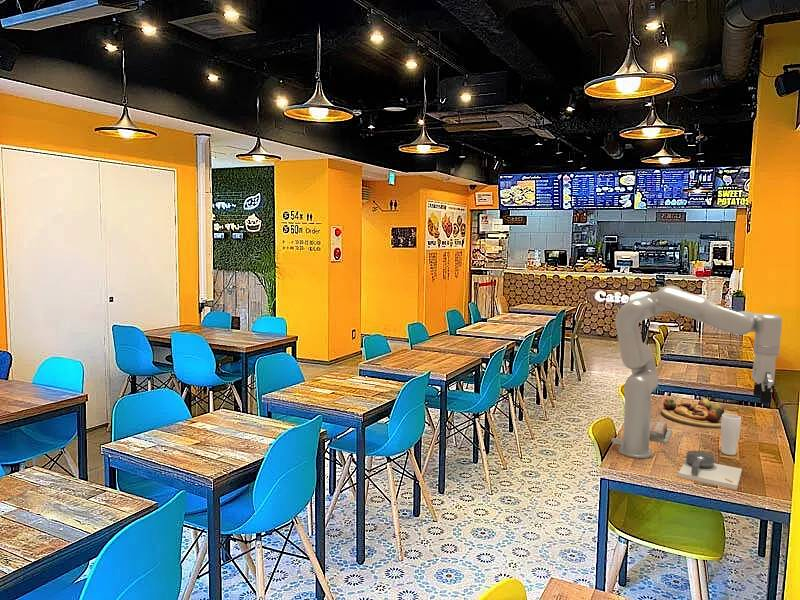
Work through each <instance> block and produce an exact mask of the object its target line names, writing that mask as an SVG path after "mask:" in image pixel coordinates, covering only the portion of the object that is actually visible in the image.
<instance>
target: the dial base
mask: <svg viewBox="0 0 800 600" xmlns="http://www.w3.org/2000/svg"><path fill="white" fill-rule="evenodd" d="M691 471H692V466H690V465H688V464H687V463H686V459H684V460H683V464H682V466H681V468H680V470H679V472H678V474H677V475H678V476H677V477H678V478H681V479H686V480H691V481H695V482H700V483H704V484H709V485H714V486H718V487H724V488H728V489H733V490H738V487H739V483H740V479H741V476H742V471H743V469H742V468H740V467H736V466H735V467H734V466H730V465H725V464H719V463H715V462H714V467H713V468H711V469H702V468H701V469H700V471H699V473H698V475H697V474H692V473H691Z"/></svg>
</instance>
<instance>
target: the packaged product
mask: <svg viewBox="0 0 800 600" xmlns="http://www.w3.org/2000/svg"><path fill="white" fill-rule="evenodd" d="M672 433H673V429H670V428H668V424H667V423H666V422H664V421H652V422H650V437H649V442H654V441H655V443H660V442H661V443H660V444H666V443H667V444H668V443H669V441H670V439H669V438H671V436H672ZM668 440H669V441H668Z"/></svg>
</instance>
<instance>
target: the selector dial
mask: <svg viewBox="0 0 800 600" xmlns="http://www.w3.org/2000/svg"><path fill="white" fill-rule="evenodd" d="M685 457H686V459H685V460H686V463H687V464H688V465H690V466H692V471H691V473H692V474H697V475H698V473H699V471H700V469H701V468H702V469H711V468H713V467H714V463H715V455H713V454H711V453H709V452H707V451H701V450H688V451H687V452H686V456H685Z"/></svg>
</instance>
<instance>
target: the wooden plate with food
mask: <svg viewBox="0 0 800 600" xmlns="http://www.w3.org/2000/svg"><path fill="white" fill-rule="evenodd" d="M662 406H663V407H661V409H660V413H661V415H662V416H663V417H664V418H666V419H668V420H669V421H672V422H674V423H678V424H681V425H685V426H689V425H690V427H696V428H703V429H721V418H722V414H729V413H728V412H725V408H724V407H723V405H722V404H721V403H719V402H717V403H714V404H712V403H711V401H710V400H709V399H707V398H706V397H702V398H701V399H699V401H698V403H697V404H695V403H689V402H686V401H679V402H676V401H675V399H672V398H670V397H667V398H665V399H664V401H663V405H662Z"/></svg>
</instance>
